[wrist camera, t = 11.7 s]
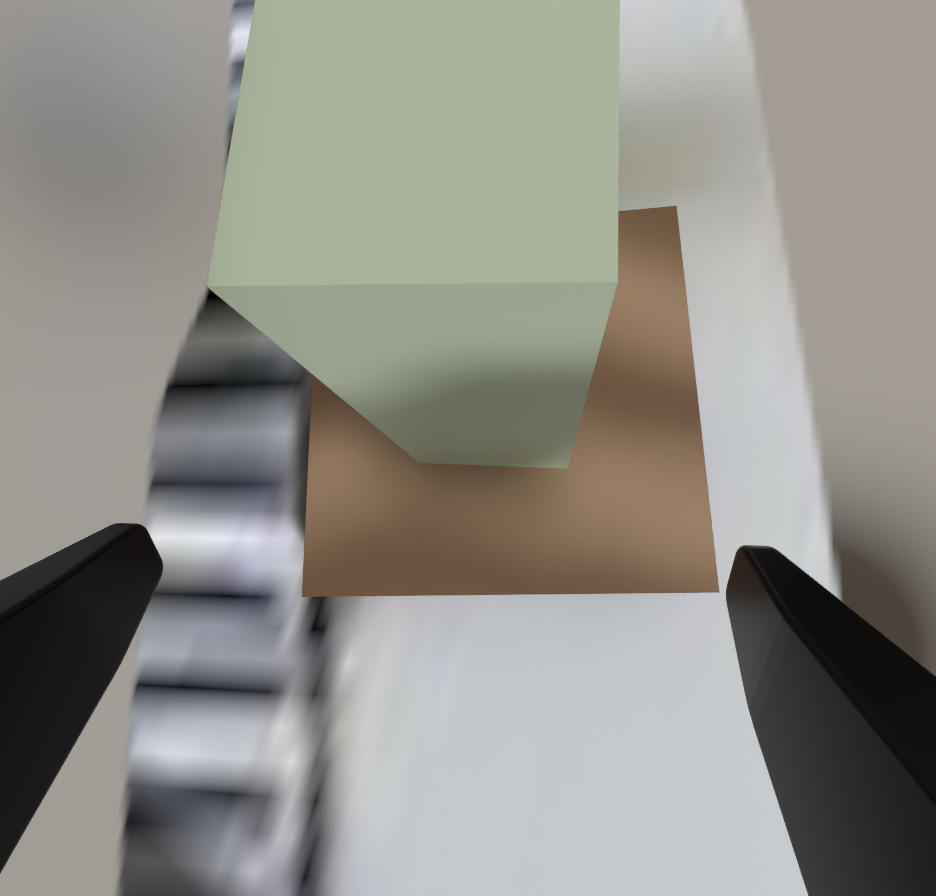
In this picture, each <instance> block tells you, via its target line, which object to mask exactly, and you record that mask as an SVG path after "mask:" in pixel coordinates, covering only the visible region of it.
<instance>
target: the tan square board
mask: <svg viewBox="0 0 936 896" xmlns="http://www.w3.org/2000/svg"><path fill="white" fill-rule="evenodd" d="M702 592H719V586H718V577H717V567H716V558H715V549H714V540H713V531H712V522H711V513H710V504H709V495H708V486H707V477H706V468H705V459H704V450H703V441H702V432H701V423H700V414H699V405H698V396H697V387H696V378H695V369H694V360H693V351H692V342H691V333H690V324H689V315H688V306H687V297H686V288H685V279H684V270H683V261H682V252H681V243H680V234H679V225H678V216H677V207H676V206H670V207H660V208H649V209H639V210H628V211H618V283H617V287H616V291H615V295H614V298H613V302H612V306H611V309H610V313H609V317H608V320H607V324H606V328H605V331H604V335H603V339H602V342H601V346H600V350H599V353H598V357H597V361H596V364H595V368H594V372H593V375H592V379H591V383H590V386H589V390H588V394H587V398H586V401H585V405H584V409H583V412H582V416H581V420H580V423H579V427H578V431H577V434H576V438H575V442H574V445H573V449H572V453H571V456H570V460H569V464H568V467H567V468H540V467H513V466H487V465H460V464H433V463H419V462H417V461H416V460H415V459H414V458H413V457H411V456H410V455H409V454H408V453H407V452H405V451H404V450H403V449H402V448H401V447H399V446H398V445H397V444H396V443H395V442H393V441H392V440H391V439H390V438H389V437H387V436H386V435H385V434H384V433H383V432H381V431H380V430H379V429H378V428H377V427H375V426H374V425H373V424H372V423H371V422H369V421H368V420H367V419H366V418H364V417H363V416H362V415H361V414H360V413H358V412H357V411H356V410H355V409H354V408H352V407H351V406H350V405H349V404H348V403H346V402H345V401H344V400H343V399H342V398H340V397H339V396H338V395H337V394H336V393H334V392H333V391H332V390H331V389H330V388H328V387H327V386H326V385H325V384H324V383H322V382H321V381H320V380H319V379H318V378H316V377H315V376H314V375H313V374H312V391H311V413H310V435H309V456H308V478H307V500H306V521H305V543H304V565H303V586H302V597H319V596H415V595H511V594H606V593H702Z"/></svg>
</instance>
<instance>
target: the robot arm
mask: <svg viewBox="0 0 936 896" xmlns="http://www.w3.org/2000/svg"><path fill="white" fill-rule="evenodd" d="M162 572H163V562H162V559H161V557H160V555H159V553H158V551H157V549H156V547H155V545H154V543H153V541H152V539H151V537H150V535H149V533H148V531H147V529H146V528H145V527H144V526H142V525H140V524H130V523H118V524H113V525H110V526H108V527H106V528H104V529H102V530H100V531H98V532H96V533H94V534H92V535H90V536H88V537H86V538H84V539H82V540H80V541H78V542H76V543H74V544H72V545H70V546H68V547H66V548H64V549H62V550H60V551H59V552H56V553H54V554H52V555H50V556H48V557H46V558H44V559H43V560H41V561H39V562H36V563H34V564H33V565H30V566H28V567H26V568H24V569H23V570H20V571H18V572H17V573H15V574H12V575H11V576H9V577H7V578H5V579H3V580H1V581H0V873H1V871H2V869H3V868H4V866H5V864H6V862H7V861H8V859H9V857H10V855H11V854H12V852H13V850H14V849H15V847H16V845H17V843H18V842H19V840H20V838H21V836H22V835H23V833H24V831H25V830H26V828H27V826H28V824H29V822H30V821H31V819H32V817H33V816H34V814H35V812H36V810H37V809H38V807H39V805H40V804H41V802H42V800H43V798H44V797H45V795H46V793H47V791H48V790H49V788H50V786H51V784H52V783H53V781H54V779H55V777H56V776H57V774H58V772H59V771H60V769H61V767H62V765H63V764H64V762H65V760H66V758H67V757H68V755H69V753H70V751H71V750H72V748H73V746H74V744H75V743H76V741H77V739H78V738H79V736H80V734H81V732H82V731H83V729H84V727H85V726H86V724H87V722H88V720H89V719H90V717H91V715H92V713H93V712H94V710H95V708H96V707H97V705H98V703H99V701H100V700H101V698H102V696H103V694H104V693H105V691H106V689H107V687H108V686H109V684H110V682H111V680H112V679H113V677H114V675H115V673H116V672H117V670H118V668H119V666H120V664H121V662H122V660H123V658H124V656H125V654H126V652H127V650H128V648H129V646H130V644H131V641H132V639H133V637H134V635H135V633H136V631H137V628H138V626H139V624H140V622H141V620H142V617H143V615H144V613H145V611H146V609H147V607H148V604H149V602H150V600H151V598H152V596H153V594H154V591H155V589H156V587H157V585H158V583H159V580H160V578H161V576H162ZM726 601H727V607H728V612H729V617H730V622H731V627H732V632H733V637H734V642H735V647H736V652H737V657H738V662H739V667H740V672H741V676H742V681H743V686H744V691H745V696H746V700H747V705H748V709H749V712H750V716H751V719H752V722H753V726H754V729H755V732H756V735H757V738H758V741H759V745H760V748H761V751H762V754H763V757H764V760H765V763H766V766H767V769H768V772H769V775H770V778H771V782H772V785H773V788H774V791H775V794H776V797H777V800H778V803H779V806H780V809H781V812H782V816H783V819H784V822H785V825H786V828H787V831H788V834H789V837H790V840H791V843H792V846H793V849H794V853H795V856H796V859H797V862H798V865H799V868H800V871H801V874H802V877H803V880H804V883H805V887H806V890H807V893H808V896H936V676H934V675H933V674H932V673H931V672H930V671H928V670H927V669H926V668H925V667H923V666H922V665H921V664H920V663H918V662H917V661H916V660H914V659H913V658H912V657H911V656H909V655H908V654H907V653H906V652H904V651H903V650H902V649H901V648H899V647H898V646H897V645H896V644H894V643H893V642H892V641H891V640H889V639H888V638H887V637H886V636H884V635H883V634H882V633H881V632H879V631H878V630H877V629H876V628H874V627H873V626H872V625H871V624H869V623H868V622H867V621H866V620H864V619H863V618H862V617H861V616H859V615H858V614H857V613H856V612H854V611H853V610H852V609H850V608H849V607H848V606H847V605H845V604H844V603H843V602H842V601H841V600H839V599H838V598H837V597H835V596H834V595H833V594H832V593H830V592H829V591H828V590H827V589H825V588H824V587H823V586H822V585H820V584H819V583H818V582H817V581H815V580H814V579H813V578H812V577H810V576H809V575H808V574H807V573H805V572H804V571H803V570H802V569H800V568H799V567H798V566H797V565H795V564H794V563H793V562H792V561H790V560H789V559H788V558H787V557H785V556H784V555H783V554H782V553H780V552H779V551H778V550H776V549H775V548H773V547H770V546H752V545H744V546H741V547H740V548H739V549H738V550H737V552H736V555H735V559H734V562H733V566H732V569H731V573H730V577H729V580H728V584H727V588H726Z"/></svg>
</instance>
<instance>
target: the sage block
mask: <svg viewBox="0 0 936 896" xmlns="http://www.w3.org/2000/svg"><path fill="white" fill-rule="evenodd" d="M618 177H619V0H255V5H254V11H253V17H252V23H251V29H250V34H249V40H248V46H247V52H246V58H245V64H244V69H243V75H242V81H241V87H240V93H239V99H238V104H237V110H236V116H235V122H234V128H233V133H232V139H231V145H230V151H229V157H228V163H227V168H226V174H225V180H224V186H223V192H222V198H221V203H220V209H219V215H218V221H217V227H216V233H215V238H214V245H213V250H212V256H211V262H210V267H209V273H208V279H207V285H206V286H207V287H208V288H209V289H210V290H212V291H213V292H214V293H215V294H216V295H218V296H219V297H220V298H221V299H222V300H224V301H225V302H226V303H227V304H228V305H230V306H231V307H232V308H233V309H234V310H236V311H237V312H238V313H239V314H240V315H242V316H243V317H244V318H245V319H246V320H248V321H249V322H250V323H251V324H253V325H254V326H255V327H256V328H257V329H259V330H260V331H261V332H262V333H263V334H265V335H266V336H267V337H268V338H269V339H271V340H272V341H273V342H274V343H275V344H277V345H278V346H279V347H280V348H281V349H283V350H284V351H285V352H286V353H287V354H289V355H290V356H291V357H292V358H293V359H295V360H296V361H297V362H298V363H299V364H301V365H302V366H303V367H304V368H305V369H307V370H308V371H309V372H310V373H312V374H313V375H314V376H315V377H316V378H318V379H319V380H320V381H321V382H322V383H324V384H325V385H326V386H327V387H328V388H330V389H331V390H332V391H333V392H334V393H336V394H337V395H338V396H339V397H340V398H342V399H343V400H344V401H345V402H346V403H348V404H349V405H350V406H351V407H352V408H354V409H355V410H356V411H357V412H358V413H360V414H361V415H362V416H363V417H364V418H366V419H367V420H368V421H369V422H371V423H372V424H373V425H374V426H375V427H377V428H378V429H379V430H380V431H381V432H383V433H384V434H385V435H386V436H387V437H389V438H390V439H391V440H392V441H393V442H395V443H396V444H397V445H398V446H399V447H401V448H402V449H403V450H404V451H405V452H407V453H408V454H409V455H410V456H411V457H413V458H414V459H415V460H416V461H417V462H419V463H433V464H460V465H487V466H513V467H540V468H567V467H568V464H569V460H570V456H571V453H572V449H573V445H574V442H575V438H576V434H577V431H578V427H579V423H580V420H581V416H582V412H583V409H584V405H585V401H586V398H587V394H588V390H589V386H590V383H591V379H592V375H593V372H594V368H595V364H596V361H597V357H598V353H599V350H600V346H601V342H602V339H603V335H604V331H605V328H606V324H607V320H608V317H609V313H610V309H611V306H612V302H613V298H614V295H615V291H616V287H617V283H618Z"/></svg>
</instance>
